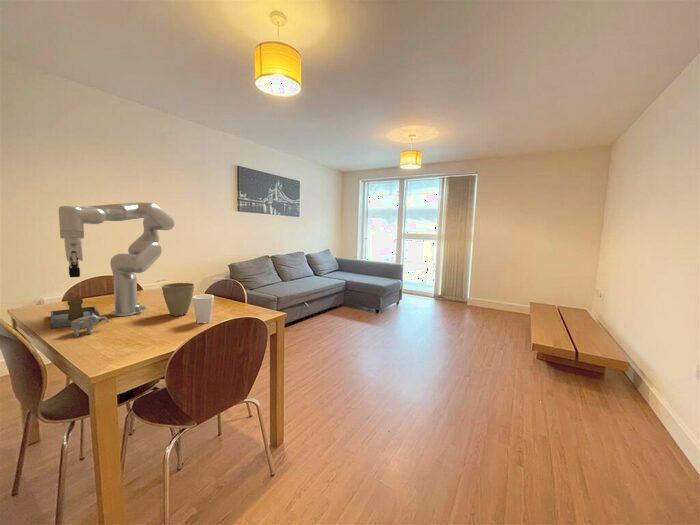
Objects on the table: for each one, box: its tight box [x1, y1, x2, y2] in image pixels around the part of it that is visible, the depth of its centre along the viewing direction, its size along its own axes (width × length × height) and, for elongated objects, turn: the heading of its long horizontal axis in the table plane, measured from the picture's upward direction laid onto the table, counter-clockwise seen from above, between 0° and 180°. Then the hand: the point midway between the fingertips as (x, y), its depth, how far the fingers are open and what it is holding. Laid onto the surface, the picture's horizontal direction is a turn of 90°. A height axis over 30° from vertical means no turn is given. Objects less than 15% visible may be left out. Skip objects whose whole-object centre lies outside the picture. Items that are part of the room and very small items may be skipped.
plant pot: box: [161, 282, 195, 316], centre depth 154 cm, size 15×15×16 cm
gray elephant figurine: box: [70, 313, 110, 338], centre depth 124 cm, size 9×12×8 cm
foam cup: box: [192, 293, 215, 324], centre depth 144 cm, size 10×9×13 cm
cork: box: [67, 297, 84, 320], centre depth 135 cm, size 6×6×11 cm
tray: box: [50, 305, 102, 330], centre depth 139 cm, size 24×17×2 cm
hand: (74, 275), depth 127 cm, fingers open, 5 cm apart
